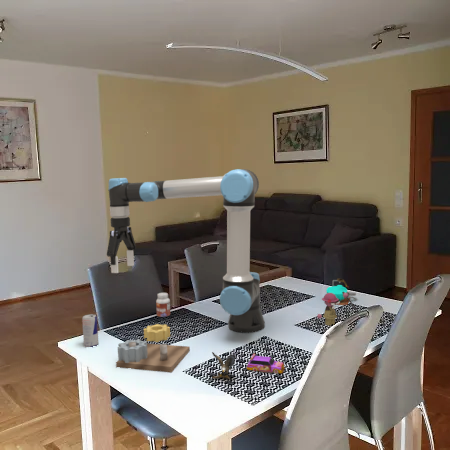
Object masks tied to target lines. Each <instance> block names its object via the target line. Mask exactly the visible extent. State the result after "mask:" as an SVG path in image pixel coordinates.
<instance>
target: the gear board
mask: <svg viewBox="0 0 450 450" xmlns="http://www.w3.org/2000/svg"><path fill="white" fill-rule="evenodd" d="M135 346H136V342H130V343H129V347H135ZM190 350H191V349H190V346H188V345H187V346H186V345H185V346H184V345H171V344H167V343H162V344H159V343H158V344H156V343H147V352H148V354H147V358H146V359H141V360H140V362H136V361H134V362H129V363H125V361H123V360H121V361H119V360H117V361H116V362H115V366H116V367H115V368H117V367H120V368H119V369H128V368H131V369H130V370H139V371H140V370H141V371H149V372H150V371H151V372H159V373H160V372H161V373H173V371H174V370H175V369H177V367H178V366H179V365H180V363H181V362H182V361H183V360H184V358H186V356H187V355H188V353H190Z"/></svg>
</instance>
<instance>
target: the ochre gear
mask: <svg viewBox="0 0 450 450" xmlns="http://www.w3.org/2000/svg"><path fill="white" fill-rule="evenodd" d="M170 337H171V327H170V326H168V325H167V324H159V323H156V324H154V325H147V326H146V327H145V328H143V339H144V340H146V342H148V341H150V342H155V343H159V342H161V341H167V340H168V338H170ZM145 338H147V339H145Z"/></svg>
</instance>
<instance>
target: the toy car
mask: <svg viewBox="0 0 450 450" xmlns="http://www.w3.org/2000/svg"><path fill="white" fill-rule="evenodd" d="M246 370H250V371H253V372H256V371H257V372H262V373H263V372H264V373H270V374H272V373H274V374H275V375H277V374H283V373H284V371H285V364H284V362H283V361H279V360H278V361H276V360H274V359H273V358H272V357H271V356H262V355H261V356H260V355H256V353H253V354H252V356H251V357H250V359H249V361H248V363H247V366H246Z"/></svg>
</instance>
